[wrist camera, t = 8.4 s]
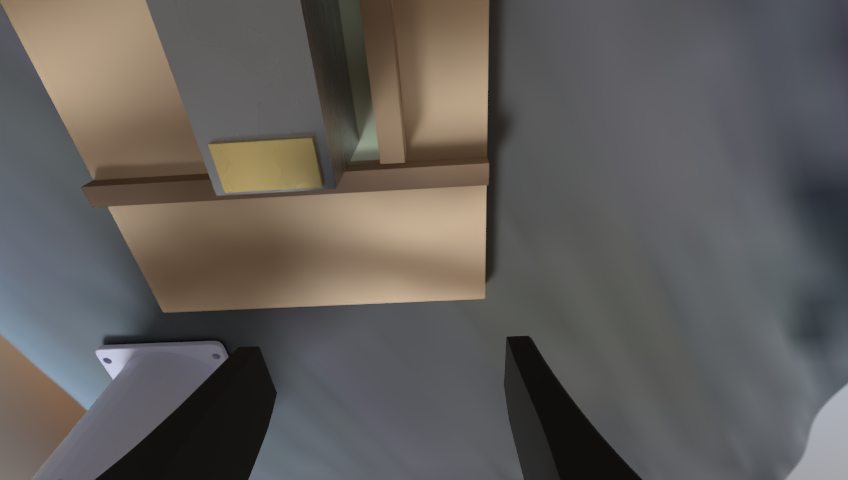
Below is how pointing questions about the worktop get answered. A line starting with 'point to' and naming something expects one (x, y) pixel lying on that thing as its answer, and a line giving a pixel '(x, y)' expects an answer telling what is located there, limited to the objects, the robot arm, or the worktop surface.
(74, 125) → the board
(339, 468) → the worktop surface
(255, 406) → the robot arm
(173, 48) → the bar
